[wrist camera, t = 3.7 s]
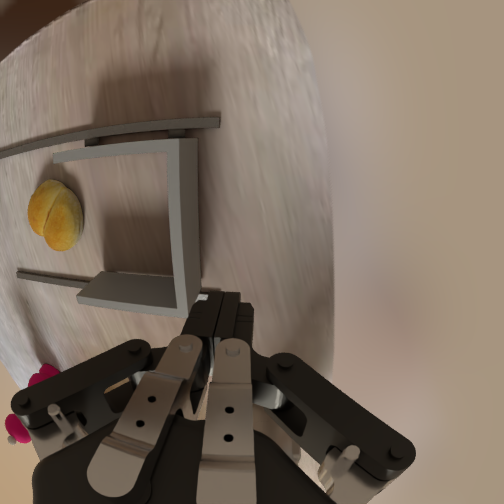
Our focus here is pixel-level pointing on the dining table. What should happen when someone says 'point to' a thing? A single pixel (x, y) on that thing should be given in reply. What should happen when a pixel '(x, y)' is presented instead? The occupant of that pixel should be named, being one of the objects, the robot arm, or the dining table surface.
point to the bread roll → (56, 215)
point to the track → (99, 132)
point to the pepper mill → (12, 420)
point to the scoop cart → (181, 234)
